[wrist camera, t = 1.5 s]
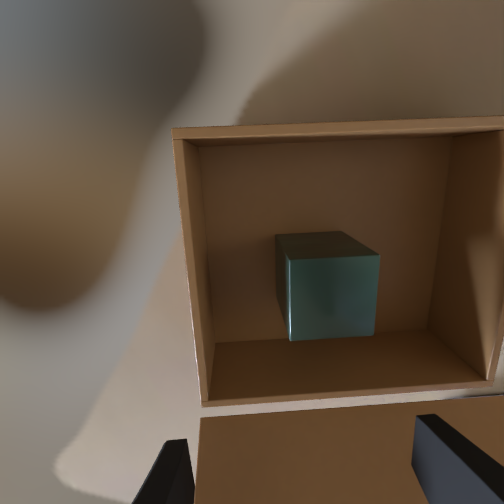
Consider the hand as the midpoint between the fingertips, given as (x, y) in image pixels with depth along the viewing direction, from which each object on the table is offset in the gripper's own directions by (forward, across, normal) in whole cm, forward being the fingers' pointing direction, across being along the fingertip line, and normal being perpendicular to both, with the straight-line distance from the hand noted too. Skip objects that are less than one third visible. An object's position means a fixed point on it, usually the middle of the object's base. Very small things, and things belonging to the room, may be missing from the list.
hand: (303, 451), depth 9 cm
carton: (+10, -4, -4) cm, 11 cm away
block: (+10, -2, -3) cm, 11 cm away
